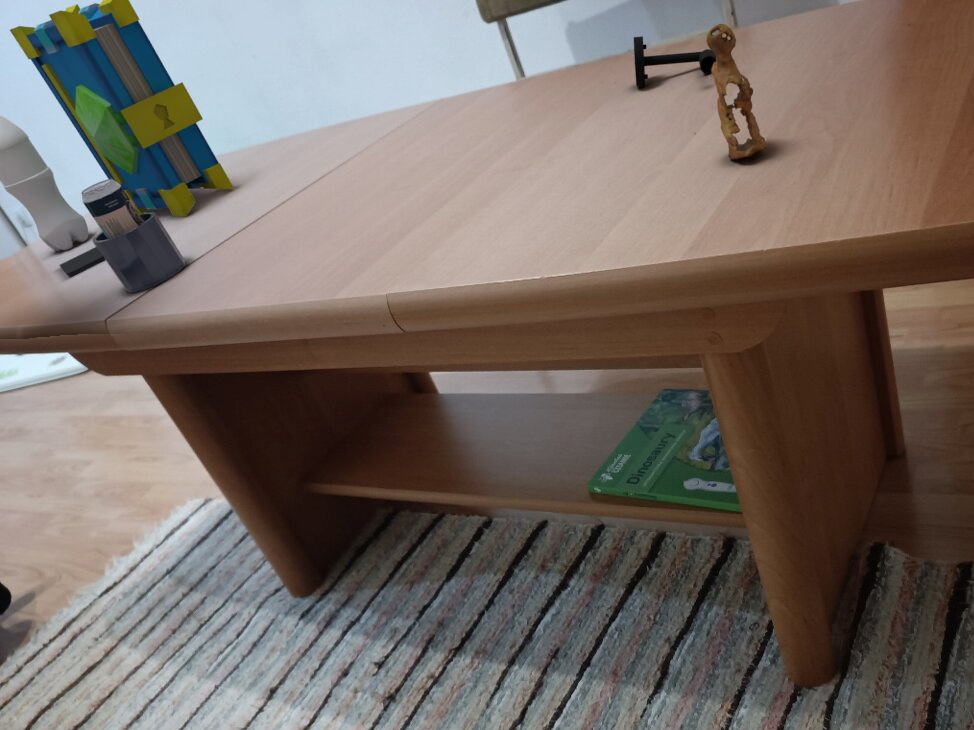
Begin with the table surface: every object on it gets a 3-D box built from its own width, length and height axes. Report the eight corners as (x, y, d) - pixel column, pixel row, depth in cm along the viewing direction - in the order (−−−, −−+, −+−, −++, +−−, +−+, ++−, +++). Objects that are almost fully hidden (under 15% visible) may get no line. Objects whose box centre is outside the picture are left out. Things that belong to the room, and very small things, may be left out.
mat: (70, 277, 125) (67, 273, 125) (61, 268, 131) (59, 264, 131) (122, 251, 128) (119, 247, 128) (112, 243, 134) (109, 240, 134)
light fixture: (722, 50, 102) (714, 24, 112) (633, 58, 103) (633, 32, 113) (722, 102, 106) (715, 72, 116) (636, 109, 107) (636, 79, 117)
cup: (133, 297, 108) (98, 246, 104) (121, 285, 114) (87, 237, 110) (192, 266, 111) (161, 215, 107) (177, 256, 117) (146, 208, 113)
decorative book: (177, 223, 132) (47, 15, 114) (114, 222, 146) (-9, 36, 129) (251, 181, 139) (140, -21, 122) (185, 183, 154) (77, 3, 136)
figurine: (776, 138, 85) (753, 8, 78) (764, 162, 81) (738, 28, 74) (731, 146, 87) (704, 20, 80) (717, 170, 83) (687, 40, 76)
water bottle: (59, 256, 138) (-55, 99, 124) (46, 252, 143) (-64, 101, 129) (100, 234, 141) (-5, 79, 127) (87, 231, 146) (-16, 82, 132)
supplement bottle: (179, 264, 112) (123, 175, 105) (149, 283, 109) (89, 193, 102) (159, 264, 115) (103, 178, 108) (130, 282, 112) (70, 195, 105)
